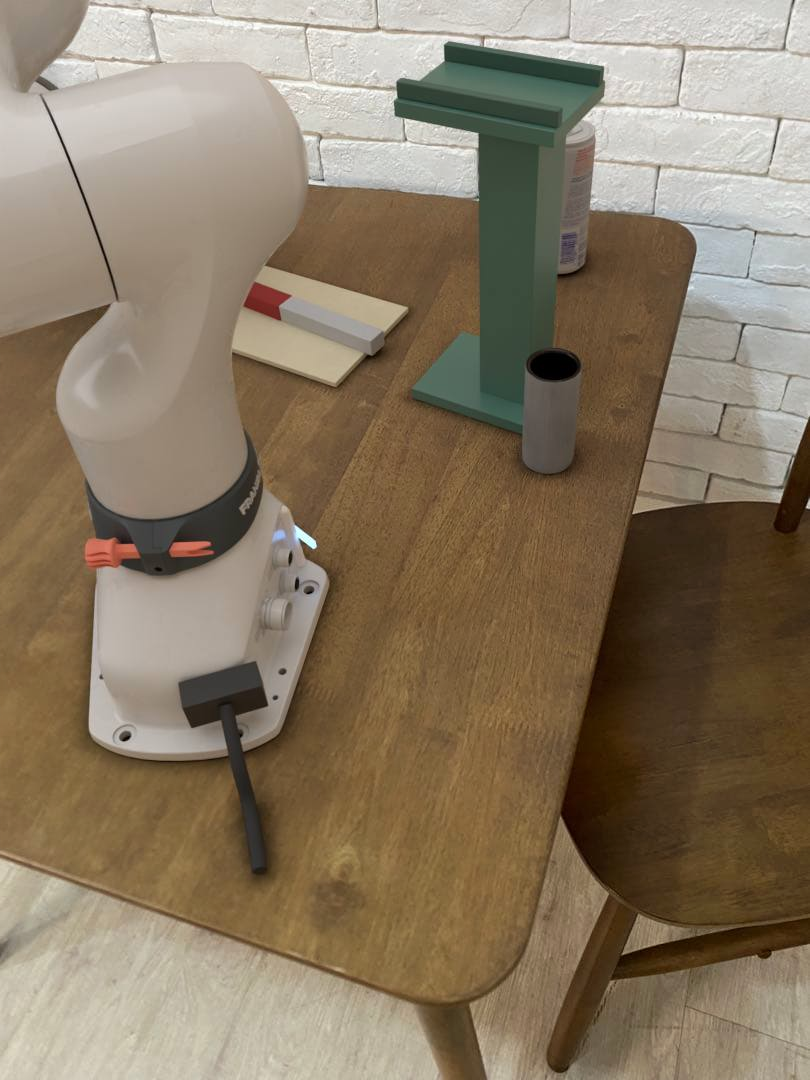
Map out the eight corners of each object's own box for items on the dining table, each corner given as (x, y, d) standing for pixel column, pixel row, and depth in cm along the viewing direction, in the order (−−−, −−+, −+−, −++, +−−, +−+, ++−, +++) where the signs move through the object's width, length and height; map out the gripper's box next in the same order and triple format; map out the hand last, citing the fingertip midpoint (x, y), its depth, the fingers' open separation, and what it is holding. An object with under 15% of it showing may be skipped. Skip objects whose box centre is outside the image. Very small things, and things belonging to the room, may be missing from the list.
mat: (408, 312, 99) (408, 307, 99) (336, 387, 92) (335, 383, 91) (231, 259, 109) (230, 255, 108) (151, 324, 101) (150, 320, 100)
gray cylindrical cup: (513, 466, 83) (516, 373, 75) (533, 434, 85) (538, 341, 78) (561, 480, 81) (569, 387, 74) (580, 448, 84) (590, 354, 76)
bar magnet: (385, 344, 95) (384, 329, 94) (371, 356, 94) (369, 342, 92) (232, 286, 104) (229, 271, 102) (218, 296, 103) (214, 282, 101)
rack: (580, 376, 90) (610, 60, 69) (535, 439, 85) (552, 117, 63) (461, 341, 95) (454, 35, 74) (412, 398, 90) (388, 86, 68)
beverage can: (584, 249, 105) (595, 115, 94) (585, 277, 102) (597, 141, 90) (534, 249, 106) (539, 116, 95) (533, 277, 102) (539, 142, 91)
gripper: (32, 182, 89) (101, 134, 80) (171, 95, 101) (247, 44, 91) (74, 241, 92) (146, 202, 83) (205, 151, 103) (282, 106, 94)
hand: (200, 118), depth 87 cm, fingers open, 8 cm apart
